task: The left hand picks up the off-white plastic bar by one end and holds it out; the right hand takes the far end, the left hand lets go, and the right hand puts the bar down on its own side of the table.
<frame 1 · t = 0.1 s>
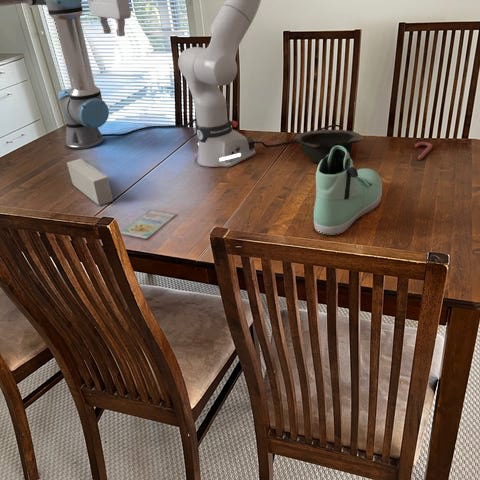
right hand: (114, 34, 138), 48 cm above the table, tool pointing down, fingers open, 8 cm apart
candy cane: (421, 153, 170), on the table
bar: (92, 192, 161), on the table
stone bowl: (326, 155, 175), on the table
baking ingredient package: (149, 224, 139), on the table
sneaker: (348, 208, 139), on the table
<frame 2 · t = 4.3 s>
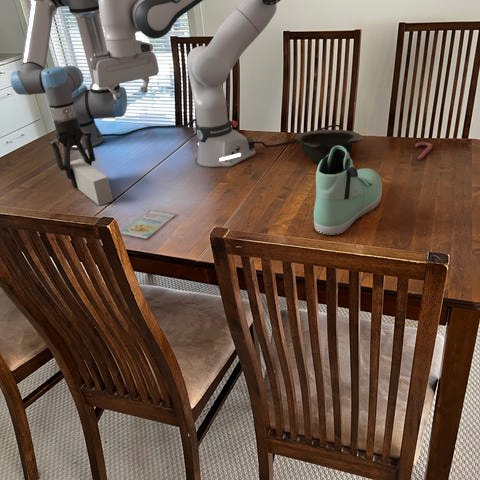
left hand: (82, 184, 166), 1 cm above the table, tool pointing down, fingers closed on bar, 5 cm apart
right hand: (131, 95, 148), 30 cm above the table, tool pointing down, fingers open, 8 cm apart
bar: (92, 192, 161), on the table, touching left hand
everything else where it was.
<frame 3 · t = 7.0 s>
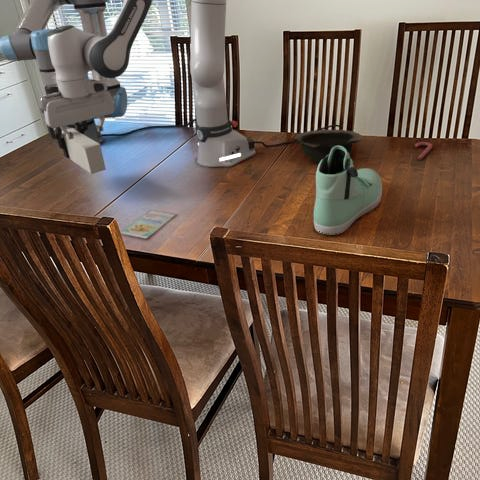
left hand: (75, 154, 161), 11 cm above the table, tool pointing down, fingers closed on bar, 5 cm apart
right hand: (85, 134, 144), 22 cm above the table, tool pointing down, fingers open, 8 cm apart
bar: (84, 162, 156), point 11 cm above the table, touching left hand
everything else where it was.
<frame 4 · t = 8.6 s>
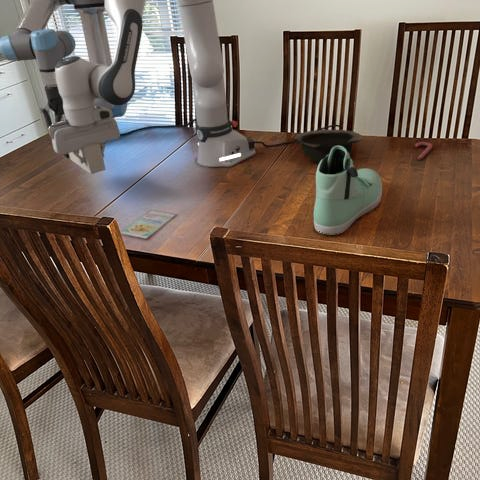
left hand: (75, 154, 161), 11 cm above the table, tool pointing down, fingers closed on bar, 5 cm apart
right hand: (92, 159, 149), 14 cm above the table, tool pointing down, fingers closed on bar, 5 cm apart
bar: (84, 162, 156), point 11 cm above the table, touching left hand, right hand
everything else where it was.
when the left hand's fingers open (11 cm above the table, at t = 9.5 s): bar stays where it is, held by the right hand.
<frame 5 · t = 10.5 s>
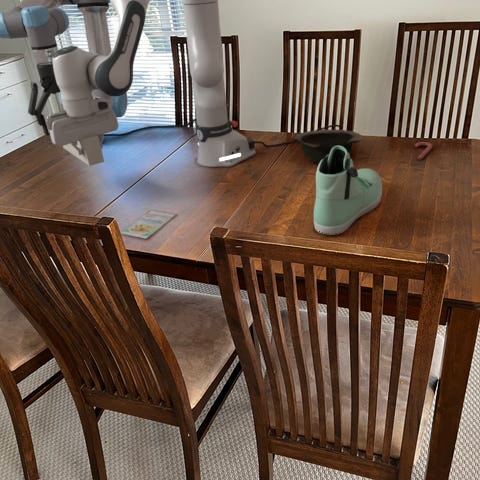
left hand: (67, 128, 159), 20 cm above the table, tool pointing down, fingers open, 13 cm apart
right hand: (90, 151, 147), 16 cm above the table, tool pointing down, fingers closed on bar, 5 cm apart
bar: (83, 154, 154), point 13 cm above the table, touching right hand
everything else where it was.
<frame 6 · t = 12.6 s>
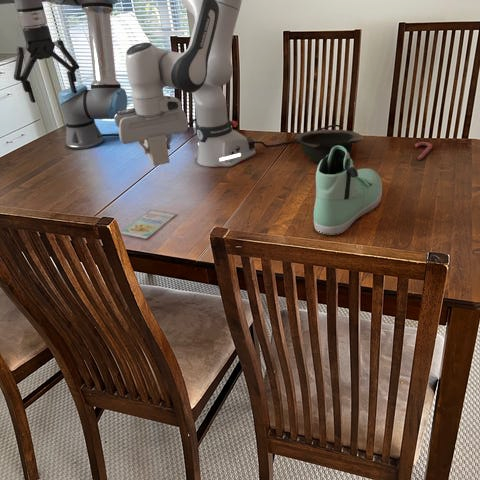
left hand: (54, 97, 155), 29 cm above the table, tool pointing down, fingers open, 13 cm apart
right hand: (157, 151, 144), 16 cm above the table, tool pointing down, fingers closed on bar, 5 cm apart
bar: (153, 152, 151), point 13 cm above the table, touching right hand
everything else where it was.
when the right hand's fingers open (4 cm above the table, at t = 17.0 s): bar stays where it is, on the table.
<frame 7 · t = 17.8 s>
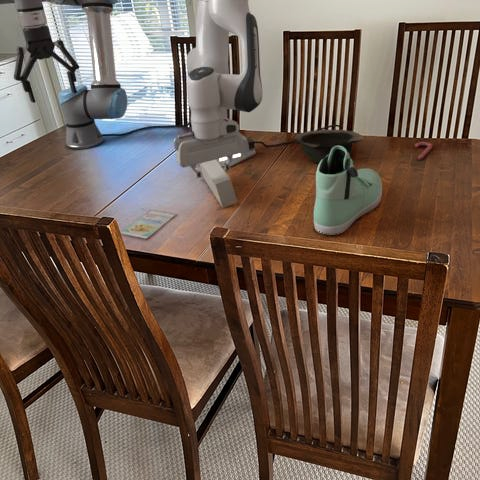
left hand: (54, 97, 155), 29 cm above the table, tool pointing down, fingers open, 13 cm apart
right hand: (212, 173, 143), 10 cm above the table, tool pointing down, fingers open, 8 cm apart
bar: (220, 190, 154), on the table, tilted 11°
everything else where it was.
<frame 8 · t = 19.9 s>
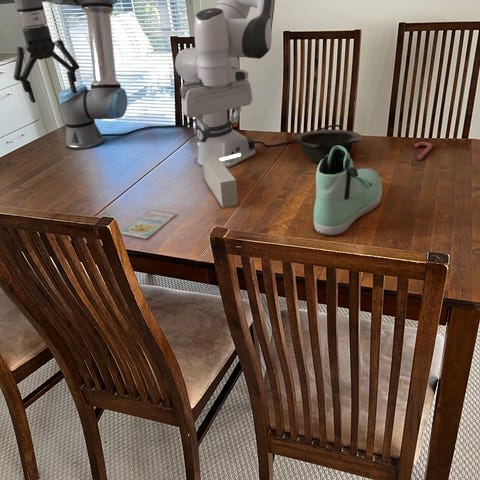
left hand: (54, 97, 155), 29 cm above the table, tool pointing down, fingers open, 13 cm apart
right hand: (219, 126, 136), 24 cm above the table, tool pointing down, fingers open, 8 cm apart
bar: (220, 191, 155), on the table
everything else where it was.
at the end: bar inside the target area (7.6 cm from its centre), on the table; the left hand is holding nothing; the right hand is holding nothing; bar at rest at the end (0.0 cm/s) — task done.
